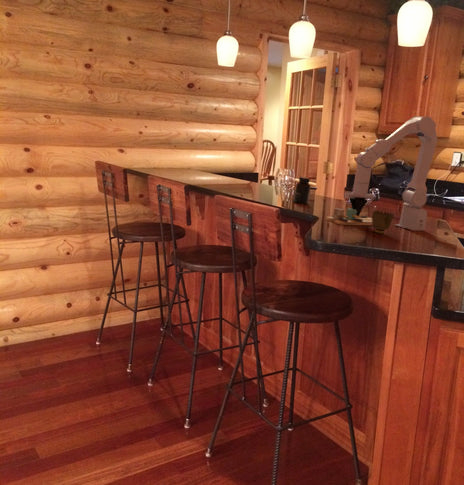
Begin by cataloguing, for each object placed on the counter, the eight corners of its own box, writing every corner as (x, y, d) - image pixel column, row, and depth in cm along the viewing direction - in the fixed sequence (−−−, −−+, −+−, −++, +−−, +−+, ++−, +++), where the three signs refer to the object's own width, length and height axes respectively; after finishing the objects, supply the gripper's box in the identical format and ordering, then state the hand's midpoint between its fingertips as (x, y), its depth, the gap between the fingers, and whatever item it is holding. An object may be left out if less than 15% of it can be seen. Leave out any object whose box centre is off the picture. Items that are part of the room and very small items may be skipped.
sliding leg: (361, 221, 202) (362, 211, 202) (356, 221, 201) (358, 211, 200) (349, 218, 208) (351, 208, 207) (345, 218, 206) (347, 208, 205)
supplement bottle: (292, 202, 243) (296, 177, 240) (294, 200, 249) (298, 176, 246) (306, 204, 241) (310, 179, 238) (308, 203, 247) (312, 178, 245)
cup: (374, 230, 194) (378, 209, 192) (392, 235, 189) (397, 213, 187) (365, 232, 188) (369, 210, 186) (384, 237, 183) (388, 214, 182)
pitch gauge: (385, 225, 210) (387, 212, 209) (342, 225, 197) (344, 211, 196) (367, 219, 218) (369, 207, 217) (324, 219, 205) (326, 206, 204)
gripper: (367, 181, 211) (361, 214, 214) (341, 180, 203) (335, 214, 206) (380, 184, 205) (373, 218, 208) (354, 183, 197) (347, 217, 200)
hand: (355, 216), depth 207 cm, fingers closed
